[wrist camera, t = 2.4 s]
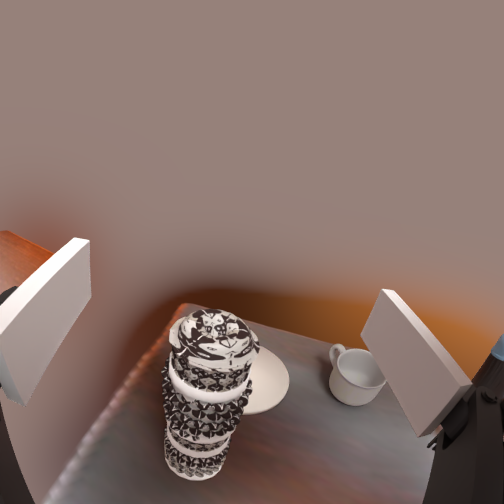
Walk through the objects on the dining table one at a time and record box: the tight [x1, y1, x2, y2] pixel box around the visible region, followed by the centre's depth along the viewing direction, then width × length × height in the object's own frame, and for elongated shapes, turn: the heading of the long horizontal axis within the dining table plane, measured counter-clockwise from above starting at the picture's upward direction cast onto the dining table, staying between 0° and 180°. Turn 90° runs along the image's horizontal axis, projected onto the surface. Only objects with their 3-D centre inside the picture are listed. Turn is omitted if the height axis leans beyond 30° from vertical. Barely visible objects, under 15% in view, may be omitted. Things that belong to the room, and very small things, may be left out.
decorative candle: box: [161, 309, 260, 480], centre depth 29 cm, size 9×9×25 cm
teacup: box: [329, 344, 387, 406], centre depth 52 cm, size 14×11×8 cm
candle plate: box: [241, 346, 289, 415], centre depth 52 cm, size 19×19×1 cm
